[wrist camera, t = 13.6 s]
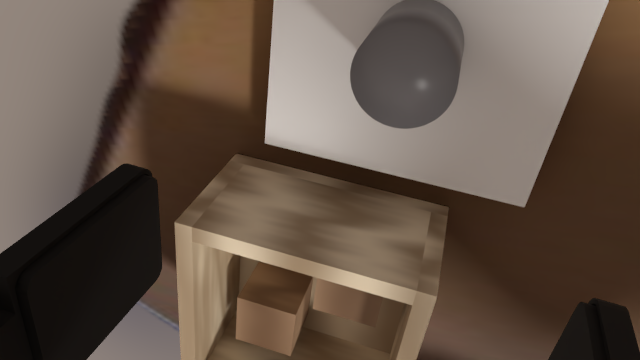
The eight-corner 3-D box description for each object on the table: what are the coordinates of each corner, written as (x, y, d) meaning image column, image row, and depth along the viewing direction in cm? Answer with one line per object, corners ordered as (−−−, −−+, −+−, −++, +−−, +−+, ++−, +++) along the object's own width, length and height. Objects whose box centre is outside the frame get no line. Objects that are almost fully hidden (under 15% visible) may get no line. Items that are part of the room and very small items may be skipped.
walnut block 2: (398, 237, 33) (387, 279, 29) (386, 283, 35) (375, 327, 31) (336, 221, 33) (319, 260, 30) (329, 267, 35) (312, 308, 32)
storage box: (448, 207, 32) (437, 296, 25) (402, 356, 39) (384, 455, 33) (236, 153, 34) (174, 222, 27) (231, 303, 42) (182, 385, 35)
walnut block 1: (313, 274, 36) (295, 315, 33) (307, 314, 38) (290, 356, 35) (260, 258, 37) (237, 297, 34) (257, 298, 39) (235, 338, 36)
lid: (646, -109, 21) (694, -101, 16) (523, 197, 29) (529, 266, 24) (291, -158, 23) (236, -164, 18) (270, 136, 31) (228, 186, 26)
